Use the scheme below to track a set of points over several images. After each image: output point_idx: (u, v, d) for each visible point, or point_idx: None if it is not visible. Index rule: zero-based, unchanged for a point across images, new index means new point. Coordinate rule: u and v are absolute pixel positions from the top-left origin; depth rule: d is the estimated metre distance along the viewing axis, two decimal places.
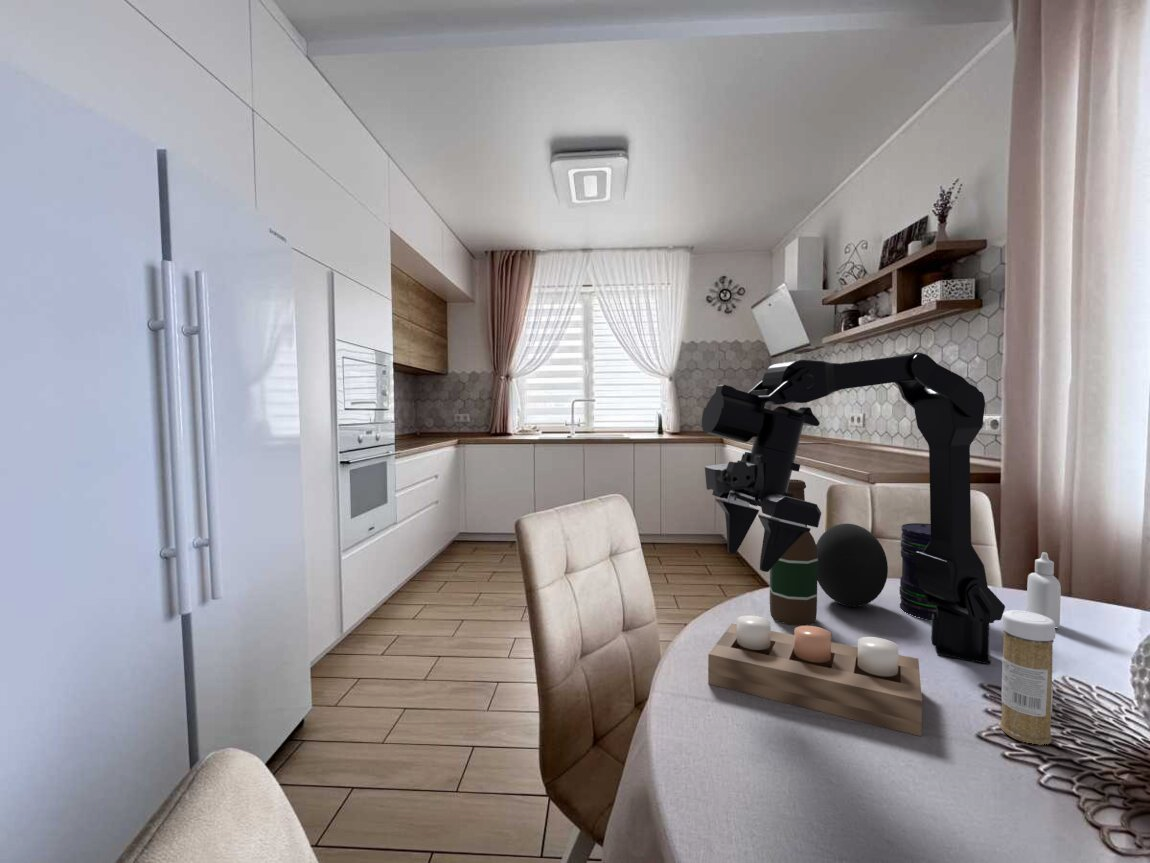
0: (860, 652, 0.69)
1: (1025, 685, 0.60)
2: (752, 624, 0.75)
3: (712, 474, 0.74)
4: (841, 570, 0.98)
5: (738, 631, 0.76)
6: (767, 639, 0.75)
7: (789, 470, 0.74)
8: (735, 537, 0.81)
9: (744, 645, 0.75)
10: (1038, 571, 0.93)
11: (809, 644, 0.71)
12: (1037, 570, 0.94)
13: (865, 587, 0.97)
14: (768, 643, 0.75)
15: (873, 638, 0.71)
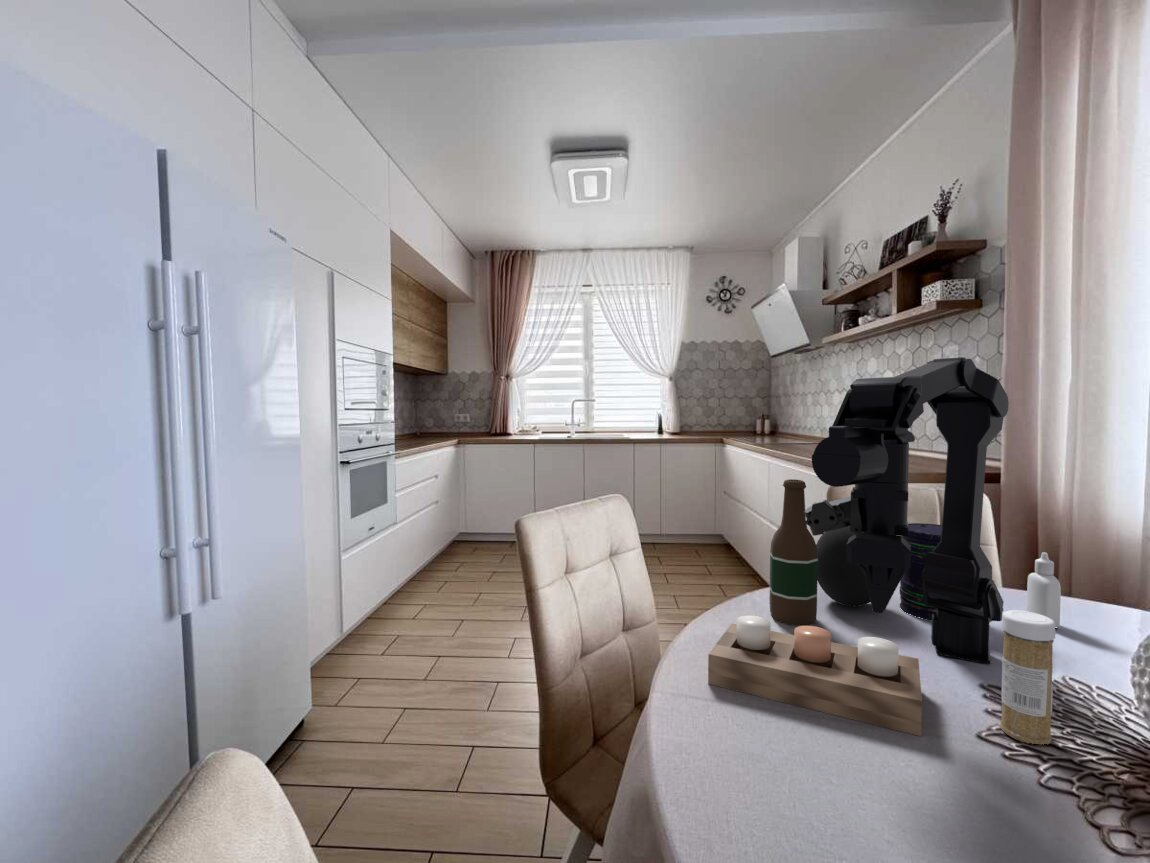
0: (860, 652, 0.69)
1: (1025, 685, 0.60)
2: (752, 624, 0.75)
3: None
4: (841, 570, 0.98)
5: (738, 631, 0.76)
6: (767, 639, 0.75)
7: (894, 501, 0.65)
8: None
9: (744, 645, 0.75)
10: (1038, 571, 0.93)
11: (809, 644, 0.71)
12: (1037, 570, 0.94)
13: (865, 587, 0.97)
14: (768, 643, 0.75)
15: (873, 638, 0.71)
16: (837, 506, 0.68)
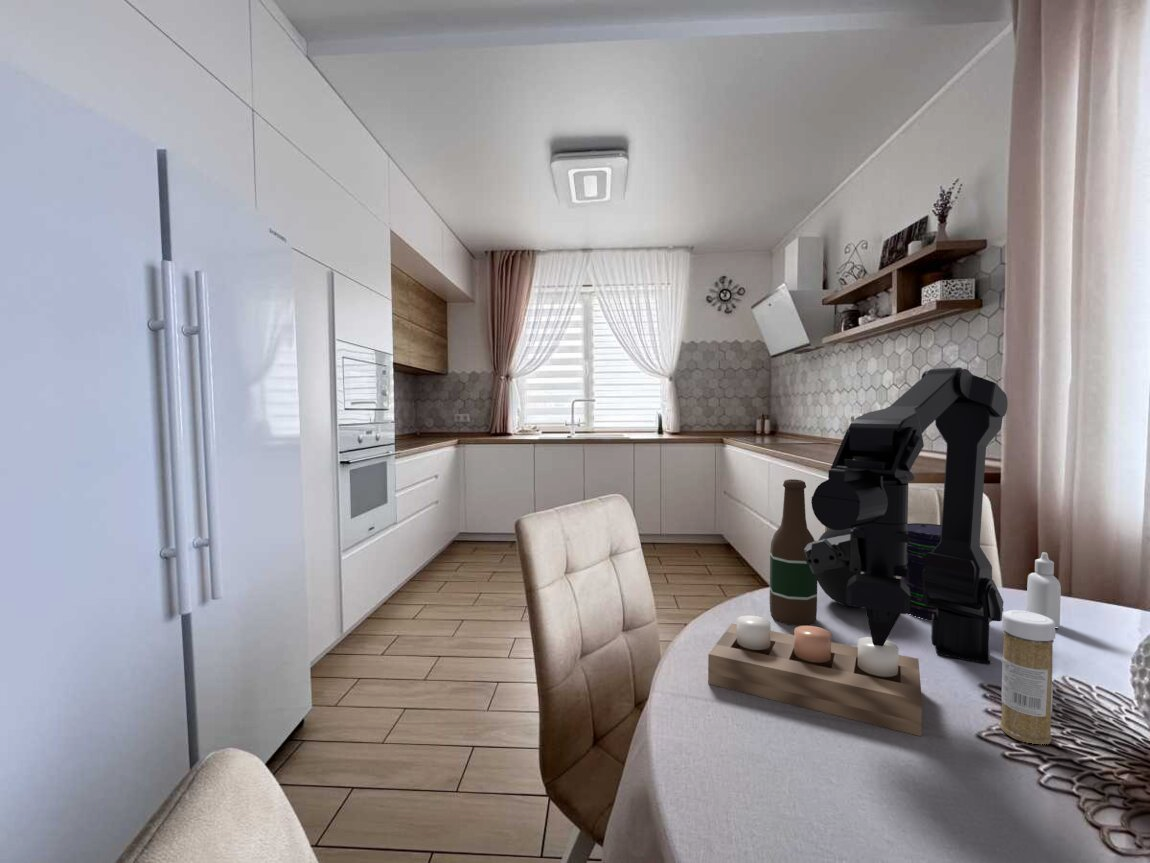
0: (860, 652, 0.69)
1: (1025, 685, 0.60)
2: (752, 624, 0.75)
3: None
4: (841, 570, 0.98)
5: (738, 631, 0.76)
6: (767, 639, 0.75)
7: (893, 542, 0.66)
8: None
9: (744, 645, 0.75)
10: (1038, 571, 0.93)
11: (809, 644, 0.71)
12: (1037, 570, 0.94)
13: None
14: (768, 643, 0.75)
15: None
16: (837, 546, 0.68)
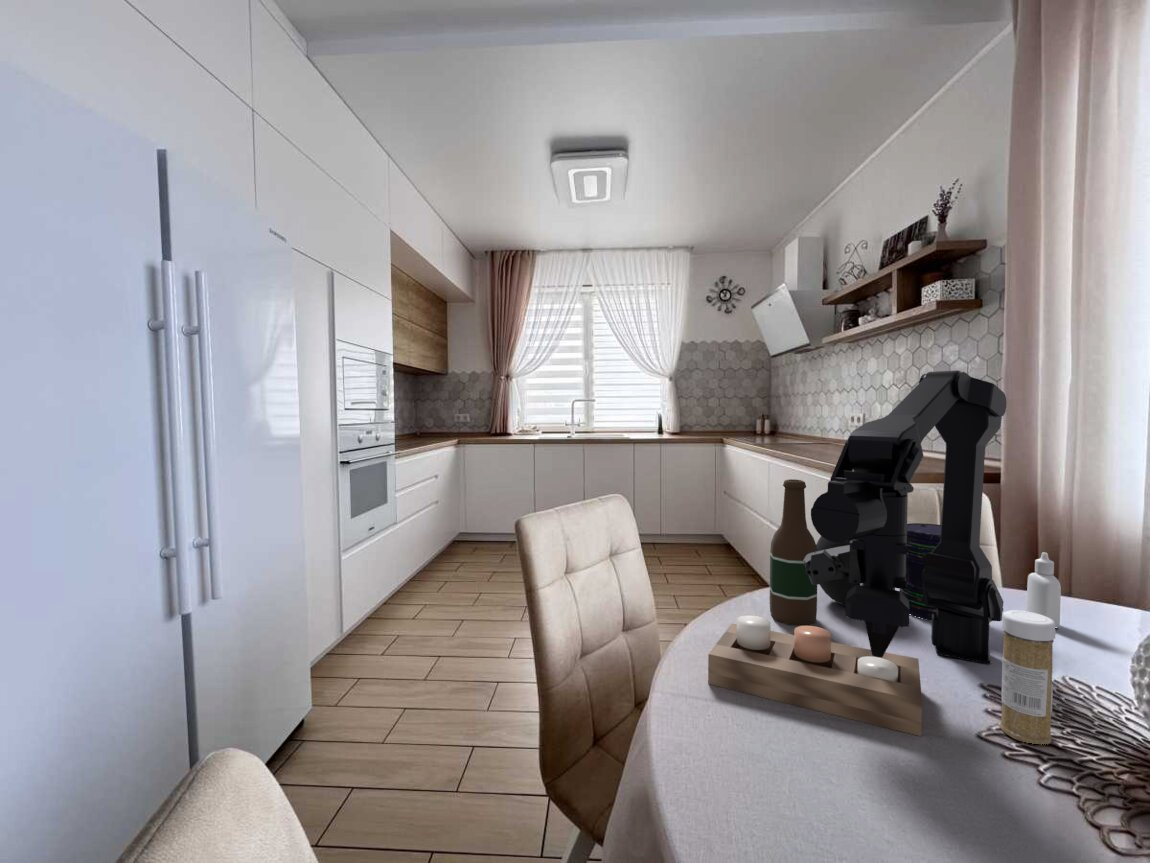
0: (860, 672, 0.69)
1: (1025, 685, 0.60)
2: (752, 624, 0.75)
3: None
4: None
5: (738, 631, 0.76)
6: (767, 639, 0.75)
7: (893, 554, 0.66)
8: None
9: (744, 645, 0.75)
10: (1038, 571, 0.93)
11: (809, 644, 0.71)
12: (1037, 570, 0.94)
13: None
14: (768, 643, 0.75)
15: (872, 658, 0.71)
16: (836, 557, 0.68)
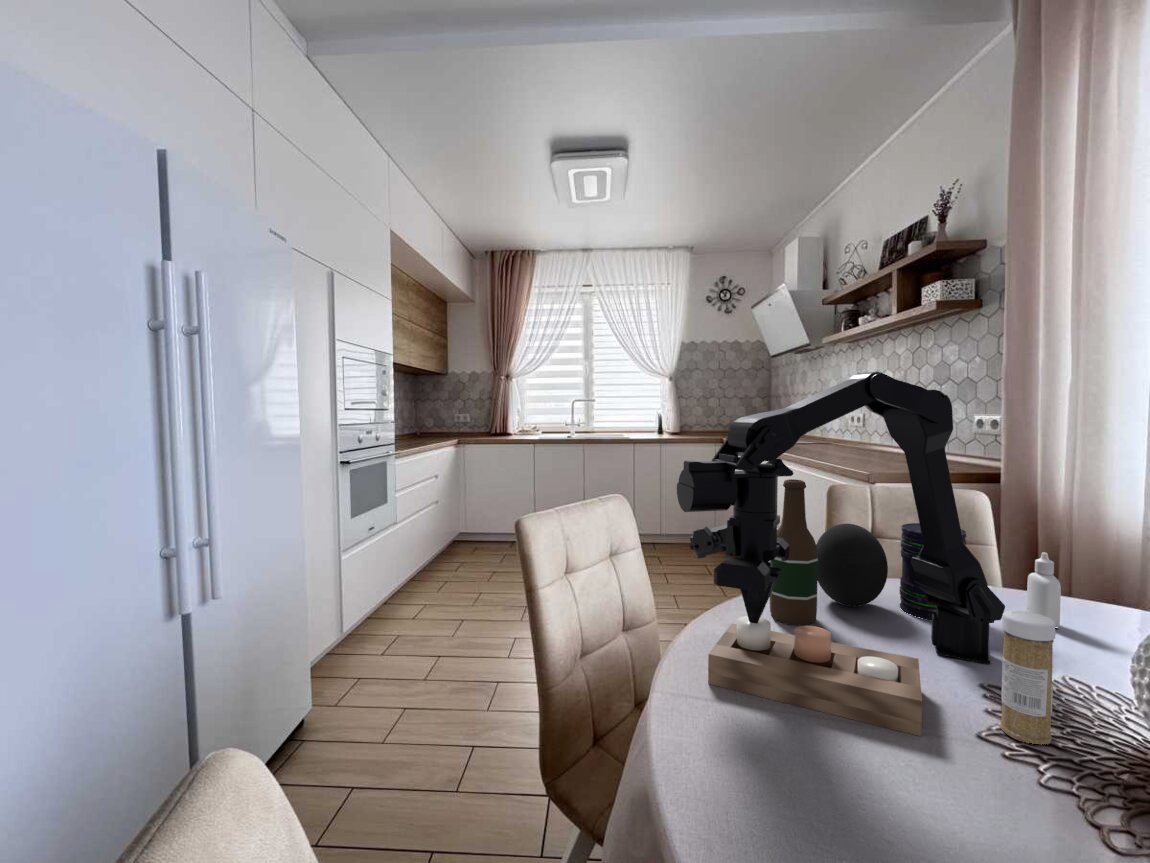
0: (860, 672, 0.69)
1: (1025, 685, 0.60)
2: (752, 624, 0.75)
3: None
4: (841, 570, 0.98)
5: (738, 632, 0.76)
6: (767, 640, 0.75)
7: (762, 529, 0.73)
8: None
9: (744, 646, 0.75)
10: (1038, 571, 0.93)
11: (809, 644, 0.71)
12: (1037, 570, 0.94)
13: (865, 587, 0.97)
14: (768, 644, 0.75)
15: (872, 658, 0.71)
16: (715, 533, 0.76)
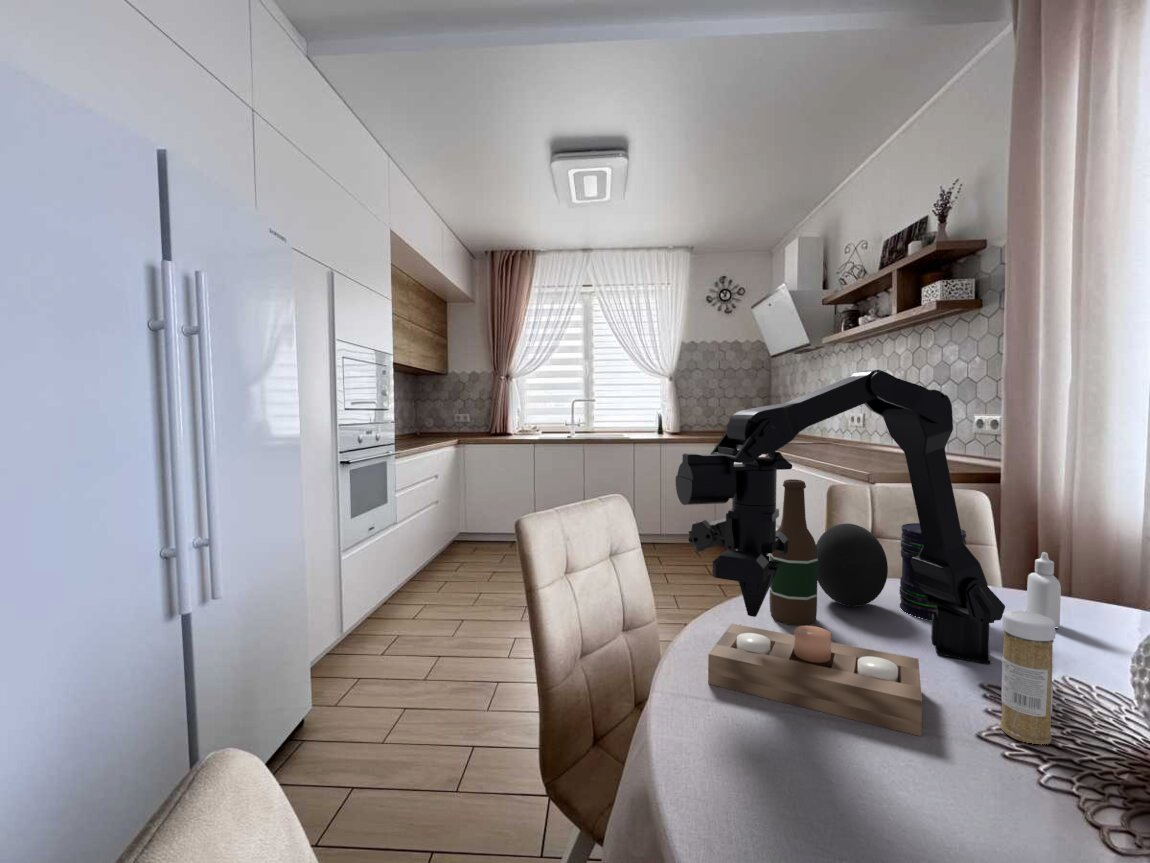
0: (860, 672, 0.69)
1: (1025, 685, 0.60)
2: (752, 642, 0.76)
3: None
4: (841, 570, 0.98)
5: None
6: None
7: (761, 522, 0.73)
8: None
9: None
10: (1038, 571, 0.93)
11: (809, 644, 0.71)
12: (1037, 570, 0.94)
13: (865, 587, 0.97)
14: None
15: (872, 658, 0.71)
16: (714, 526, 0.76)
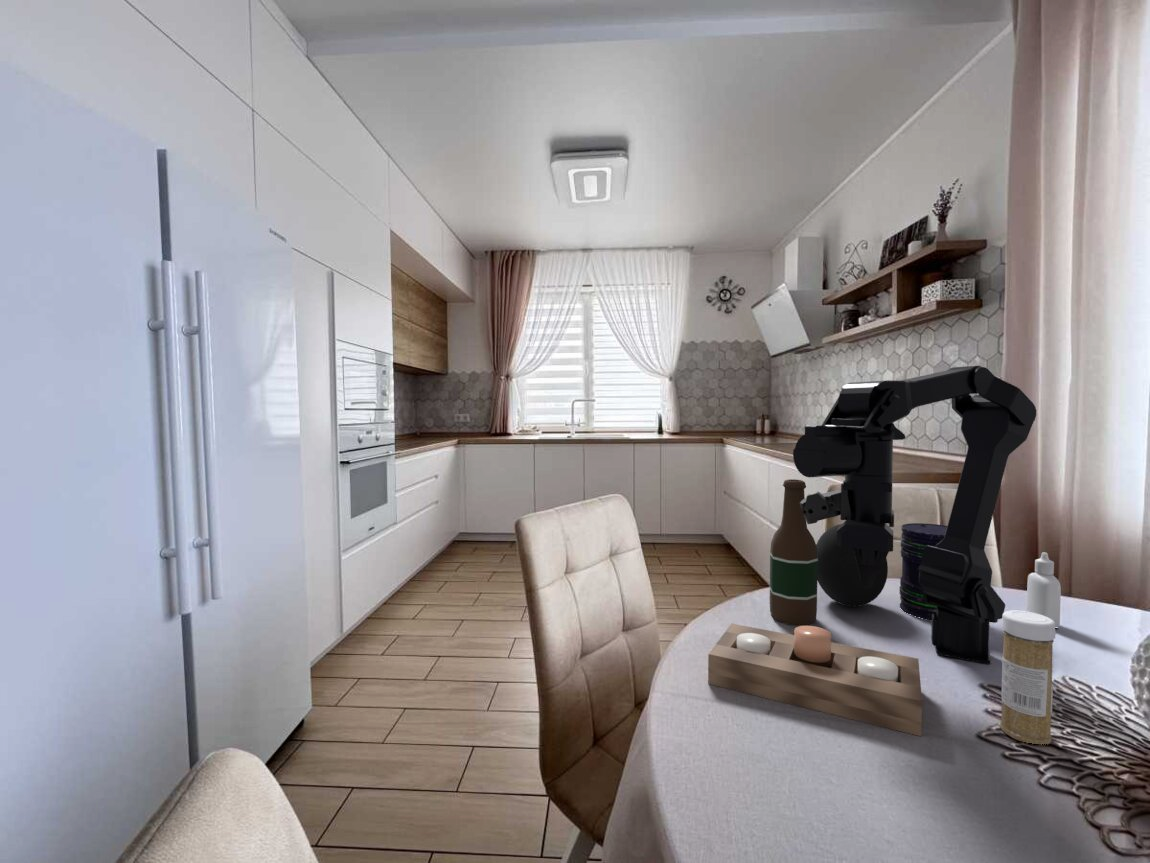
0: (860, 672, 0.69)
1: (1025, 685, 0.60)
2: (752, 642, 0.76)
3: None
4: (841, 570, 0.98)
5: None
6: None
7: (879, 492, 0.73)
8: None
9: None
10: (1038, 571, 0.93)
11: (809, 644, 0.71)
12: (1037, 570, 0.94)
13: (865, 587, 0.97)
14: None
15: (872, 658, 0.71)
16: (829, 497, 0.76)
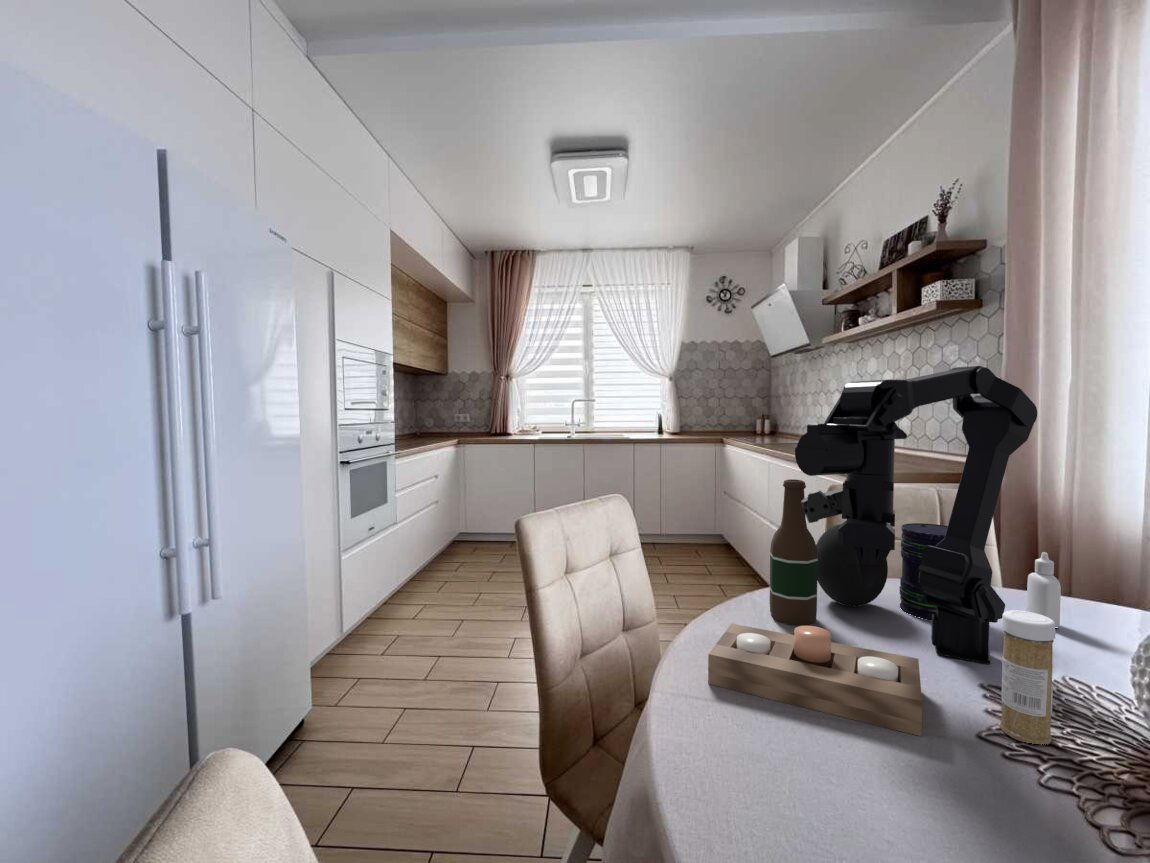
0: (860, 672, 0.69)
1: (1025, 685, 0.60)
2: (752, 642, 0.76)
3: None
4: (841, 570, 0.98)
5: None
6: None
7: (881, 491, 0.73)
8: None
9: None
10: (1038, 571, 0.93)
11: (809, 644, 0.71)
12: (1037, 570, 0.94)
13: (865, 587, 0.97)
14: None
15: (872, 658, 0.71)
16: (830, 496, 0.76)
